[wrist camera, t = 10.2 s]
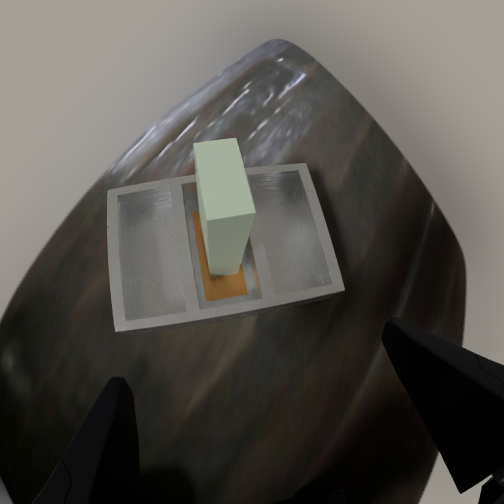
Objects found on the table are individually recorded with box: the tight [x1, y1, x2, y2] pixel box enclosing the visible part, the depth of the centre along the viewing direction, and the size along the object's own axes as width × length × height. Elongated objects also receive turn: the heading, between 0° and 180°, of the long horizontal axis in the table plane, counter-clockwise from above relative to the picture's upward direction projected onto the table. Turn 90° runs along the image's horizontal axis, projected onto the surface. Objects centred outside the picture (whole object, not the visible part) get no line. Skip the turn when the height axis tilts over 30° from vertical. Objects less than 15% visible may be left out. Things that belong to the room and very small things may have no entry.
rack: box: [107, 163, 345, 335], centre depth 21 cm, size 10×15×4 cm
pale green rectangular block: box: [194, 138, 256, 278], centre depth 17 cm, size 4×2×10 cm, turn 14°
